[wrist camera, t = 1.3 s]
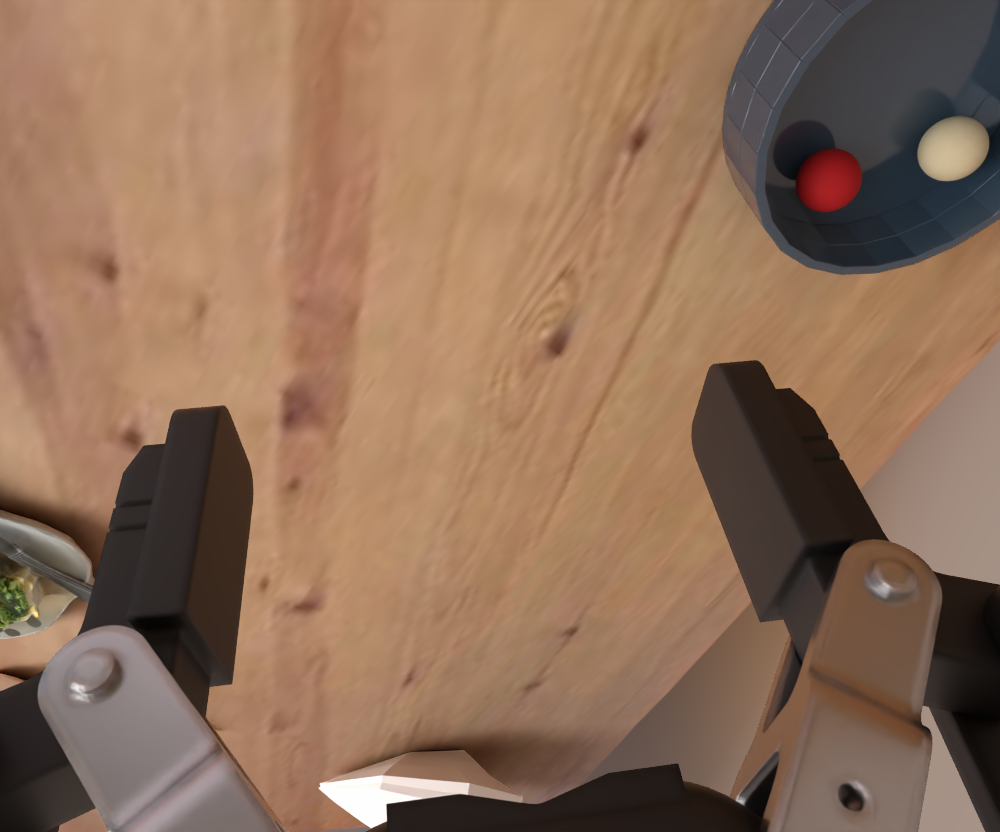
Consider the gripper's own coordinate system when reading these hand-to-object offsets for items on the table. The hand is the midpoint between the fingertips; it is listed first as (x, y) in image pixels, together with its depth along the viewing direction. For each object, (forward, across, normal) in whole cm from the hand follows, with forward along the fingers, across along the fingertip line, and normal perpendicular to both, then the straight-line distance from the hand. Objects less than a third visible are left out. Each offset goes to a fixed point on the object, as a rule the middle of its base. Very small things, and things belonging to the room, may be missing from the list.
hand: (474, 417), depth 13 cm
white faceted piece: (+24, +5, +92) cm, 95 cm away
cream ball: (+22, -26, +9) cm, 35 cm away
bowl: (+24, -22, +6) cm, 34 cm away
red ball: (+22, -20, +10) cm, 31 cm away
